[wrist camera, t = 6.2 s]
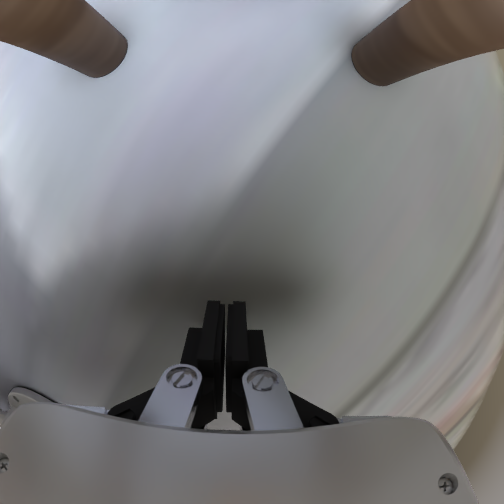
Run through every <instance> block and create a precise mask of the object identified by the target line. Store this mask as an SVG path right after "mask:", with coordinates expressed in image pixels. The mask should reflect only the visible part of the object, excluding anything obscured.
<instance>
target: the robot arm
mask: <svg viewBox="0 0 504 504" xmlns="http://www.w3.org/2000/svg"><path fill="white" fill-rule="evenodd" d="M224 364H225V304H220V301H208V302H207V307H206V313H205V318H204V323H203V328H189V330H188V334H187V338H186V342H185V346H184V350H183V354H182V358H181V362H180V364H177V365H173V366H170V367H169V368H167V369H166V370H165V371H164V372H163V374H162V376H161V378H160V380H159V382H158V383H157V385H156V387H155V388H153V389H151V390H148V391H146V392H144V393H142V394H140V395H138V396H136V397H134V398H131V399H129V400H127V401H125V402H123V403H120V404H118V405H116V406H114V407H113V408H111V409H110V410H106V408H105V407H91V406H77V405H66V404H59V403H53V402H52V401H50V400H48V399H47V398H45V397H43V396H41V395H39V394H37V393H35V392H33V391H31V390H28V389H25V388H20V387H16V388H13V389H12V390H11V392H10V393H9V395H8V402H9V405H10V407H11V408H10V410H9V411H2V410H1V409H0V427H1V429H0V504H479V502H478V500H477V497H476V495H475V493H474V490H473V488H472V486H471V484H470V482H469V479H468V478H467V476H466V473H465V471H464V469H463V467H462V465H461V463H460V461H459V459H458V458H457V456H456V454H455V452H454V451H453V449H452V447H451V446H450V444H449V443H448V441H447V440H446V438H445V437H444V436H443V434H442V433H441V432H440V431H439V430H438V429H437V428H436V427H435V426H434V425H433V424H432V423H430V422H428V421H426V420H423V419H419V418H413V417H392V416H343V417H342V419H340V418H336V417H335V416H334V415H332V414H331V413H329V412H327V411H325V410H323V409H321V408H319V407H317V406H315V405H313V404H312V403H310V402H308V401H306V400H304V399H302V398H301V397H299V396H297V395H295V394H293V393H292V392H290V391H288V389H287V387H286V384H285V382H284V380H283V377H282V376H281V374H280V373H279V372H277V371H276V370H274V369H272V368H268V364H267V357H266V350H265V343H264V336H263V330H247V322H246V303H245V302H239V301H233V304H229V305H228V322H227V340H226V412H232V420H234V421H235V422H236V423H238V424H239V425H240V426H241V431H234V430H209V429H207V424H208V423H209V422H211V421H212V420H214V419H217V412H222V408H223V385H224Z"/></svg>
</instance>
